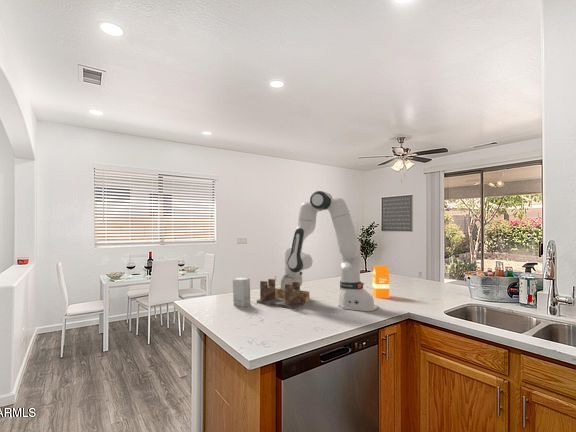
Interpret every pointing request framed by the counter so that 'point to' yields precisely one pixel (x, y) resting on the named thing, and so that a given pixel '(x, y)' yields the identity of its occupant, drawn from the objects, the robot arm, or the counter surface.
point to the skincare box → (241, 291)
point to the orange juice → (380, 282)
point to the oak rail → (281, 294)
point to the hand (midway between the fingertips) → (291, 295)
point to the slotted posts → (289, 302)
